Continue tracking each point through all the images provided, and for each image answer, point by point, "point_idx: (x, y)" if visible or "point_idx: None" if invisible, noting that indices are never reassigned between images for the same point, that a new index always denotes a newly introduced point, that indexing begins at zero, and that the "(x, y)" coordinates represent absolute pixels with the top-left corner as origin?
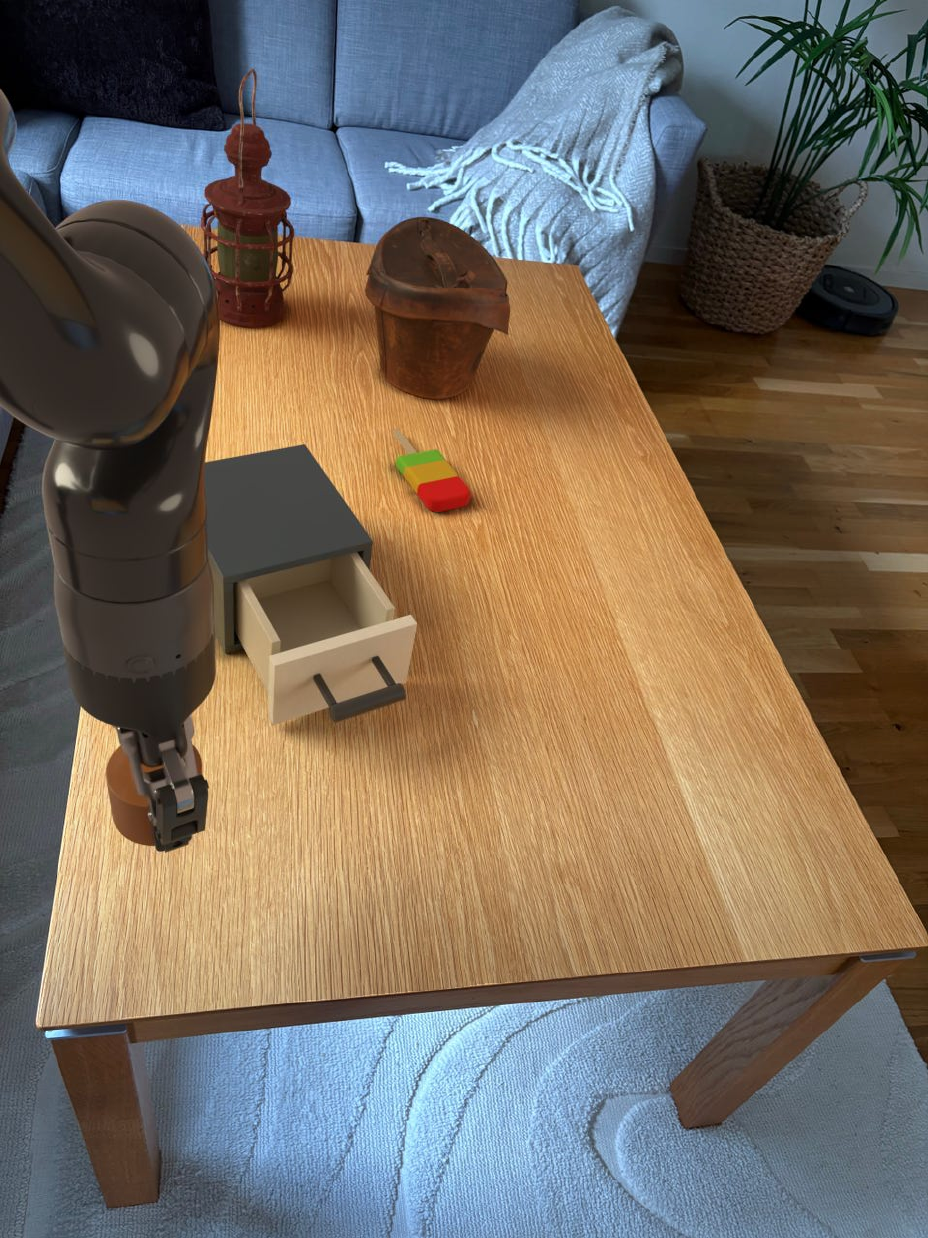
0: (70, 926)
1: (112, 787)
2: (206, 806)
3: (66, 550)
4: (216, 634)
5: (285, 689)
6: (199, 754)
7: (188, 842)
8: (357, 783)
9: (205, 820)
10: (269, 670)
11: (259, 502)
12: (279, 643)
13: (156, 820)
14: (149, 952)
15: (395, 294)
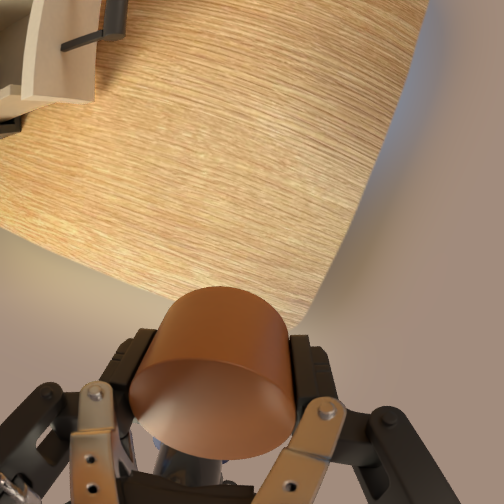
0: None
1: (228, 458)
2: (454, 495)
3: None
4: (5, 136)
5: (64, 84)
6: (201, 359)
7: (327, 356)
8: (187, 37)
9: (424, 446)
10: (37, 100)
11: None
12: (13, 85)
13: (359, 481)
14: (279, 271)
15: None
